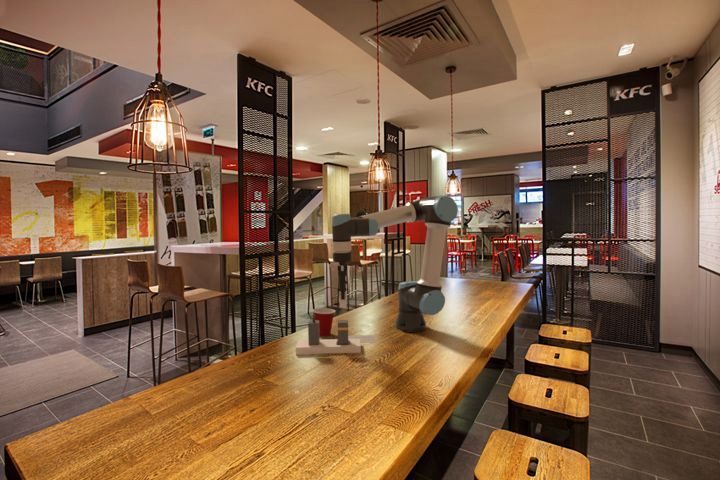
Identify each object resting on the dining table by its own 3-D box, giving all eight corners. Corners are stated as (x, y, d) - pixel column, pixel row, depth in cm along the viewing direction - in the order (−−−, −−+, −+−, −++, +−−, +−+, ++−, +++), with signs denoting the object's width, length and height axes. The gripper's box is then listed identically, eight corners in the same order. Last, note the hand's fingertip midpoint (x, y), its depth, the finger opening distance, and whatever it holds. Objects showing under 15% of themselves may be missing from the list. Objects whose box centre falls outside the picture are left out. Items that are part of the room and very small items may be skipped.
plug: (348, 347, 153) (348, 319, 153) (348, 351, 149) (348, 322, 148) (338, 348, 153) (337, 319, 152) (337, 351, 149) (337, 322, 148)
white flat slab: (373, 335, 169) (373, 334, 169) (375, 343, 159) (375, 342, 159) (347, 336, 168) (347, 335, 168) (348, 343, 158) (348, 342, 158)
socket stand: (359, 345, 156) (359, 311, 155) (360, 353, 147) (360, 316, 146) (298, 347, 155) (297, 312, 154) (295, 355, 146) (295, 318, 145)
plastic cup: (340, 334, 170) (340, 309, 170) (322, 340, 163) (321, 313, 162) (326, 329, 178) (326, 305, 178) (308, 334, 171) (307, 309, 170)
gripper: (333, 249, 161) (335, 296, 162) (331, 255, 136) (333, 311, 137) (350, 248, 161) (351, 296, 163) (351, 254, 136) (353, 310, 138)
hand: (343, 303), depth 150 cm, fingers open, 13 cm apart
